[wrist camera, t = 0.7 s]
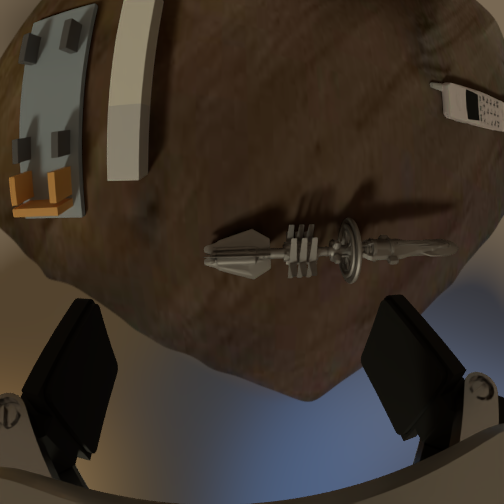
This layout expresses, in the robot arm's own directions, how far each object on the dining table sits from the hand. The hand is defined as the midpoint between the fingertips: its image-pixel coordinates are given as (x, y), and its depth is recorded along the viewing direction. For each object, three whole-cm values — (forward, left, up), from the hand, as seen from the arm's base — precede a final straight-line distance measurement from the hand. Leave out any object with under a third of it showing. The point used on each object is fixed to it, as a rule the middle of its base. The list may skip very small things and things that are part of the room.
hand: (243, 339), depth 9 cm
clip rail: (-10, -23, -26) cm, 36 cm away
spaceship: (+6, +15, -26) cm, 31 cm away
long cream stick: (-12, -11, -26) cm, 30 cm away
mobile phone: (-18, +39, -26) cm, 50 cm away
